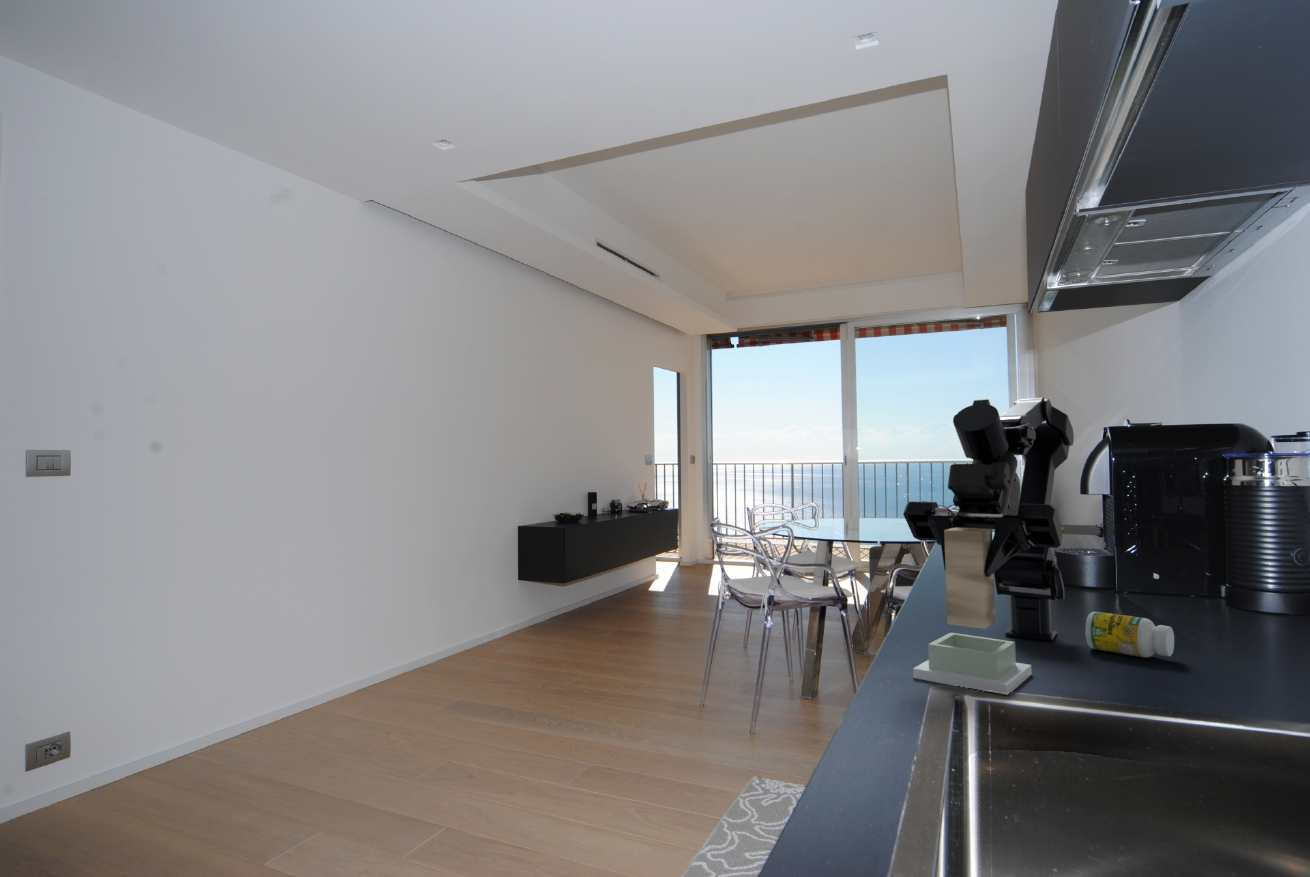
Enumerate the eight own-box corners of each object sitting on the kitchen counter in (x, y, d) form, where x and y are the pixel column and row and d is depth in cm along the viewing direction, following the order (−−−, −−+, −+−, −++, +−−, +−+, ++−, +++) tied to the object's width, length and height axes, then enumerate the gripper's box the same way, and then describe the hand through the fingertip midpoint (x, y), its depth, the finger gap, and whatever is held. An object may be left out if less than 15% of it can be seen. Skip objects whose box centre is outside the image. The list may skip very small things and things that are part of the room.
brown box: (959, 617, 92) (956, 527, 92) (995, 622, 89) (992, 529, 89) (947, 623, 88) (944, 530, 89) (984, 629, 85) (981, 531, 86)
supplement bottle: (1091, 655, 101) (1171, 670, 93) (1081, 632, 99) (1161, 645, 91) (1100, 626, 103) (1178, 638, 96) (1090, 603, 101) (1169, 613, 94)
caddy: (944, 659, 96) (943, 629, 96) (1031, 674, 89) (1030, 641, 89) (913, 677, 88) (912, 644, 88) (1006, 696, 80) (1005, 659, 81)
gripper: (906, 445, 99) (875, 528, 90) (1053, 439, 86) (1034, 535, 78) (928, 497, 104) (901, 580, 96) (1069, 500, 92) (1053, 595, 83)
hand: (966, 573), depth 88 cm, fingers closed on brown box, 4 cm apart
